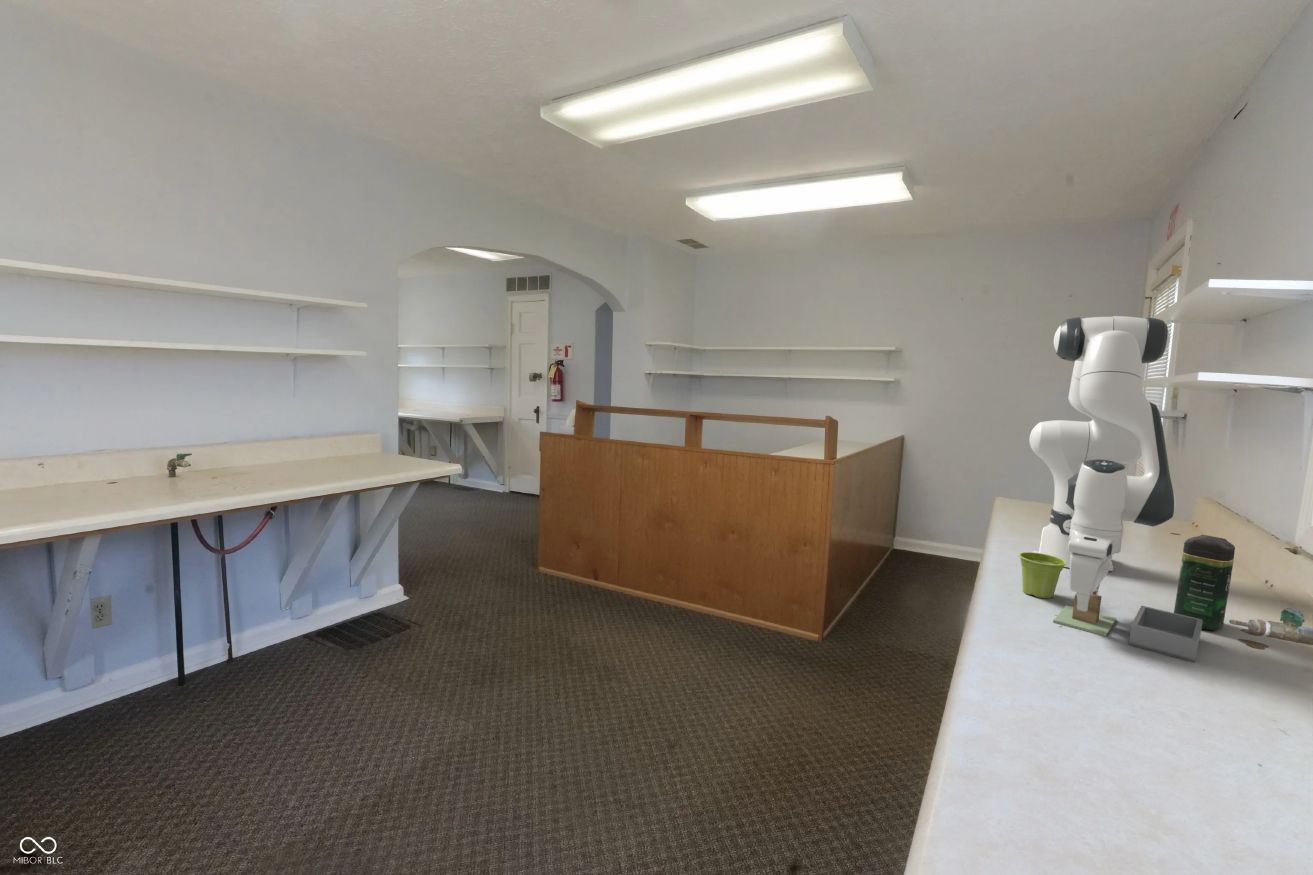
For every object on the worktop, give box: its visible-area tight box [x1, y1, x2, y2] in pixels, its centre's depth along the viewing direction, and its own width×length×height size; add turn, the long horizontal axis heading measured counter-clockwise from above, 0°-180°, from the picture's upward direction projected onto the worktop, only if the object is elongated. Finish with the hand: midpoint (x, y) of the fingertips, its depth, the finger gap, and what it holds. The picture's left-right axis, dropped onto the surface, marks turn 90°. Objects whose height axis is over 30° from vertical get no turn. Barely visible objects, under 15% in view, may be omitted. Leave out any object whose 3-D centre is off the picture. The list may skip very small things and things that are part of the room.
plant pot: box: [1018, 551, 1066, 599], centre depth 144 cm, size 9×9×9 cm
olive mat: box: [1052, 605, 1117, 637], centre depth 129 cm, size 12×9×1 cm
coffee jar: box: [1173, 534, 1236, 631], centre depth 129 cm, size 10×8×19 cm
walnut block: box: [1072, 592, 1102, 624], centre depth 129 cm, size 4×4×5 cm
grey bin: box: [1128, 605, 1203, 663], centre depth 120 cm, size 15×10×4 cm, turn 136°
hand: (1087, 604), depth 129 cm, fingers open, 8 cm apart
